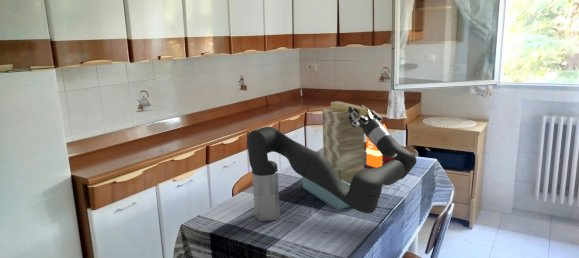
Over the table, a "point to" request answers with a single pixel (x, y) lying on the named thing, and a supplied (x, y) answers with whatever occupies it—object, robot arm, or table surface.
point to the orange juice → (373, 154)
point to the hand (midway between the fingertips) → (355, 107)
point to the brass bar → (344, 107)
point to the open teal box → (324, 194)
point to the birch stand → (343, 144)
